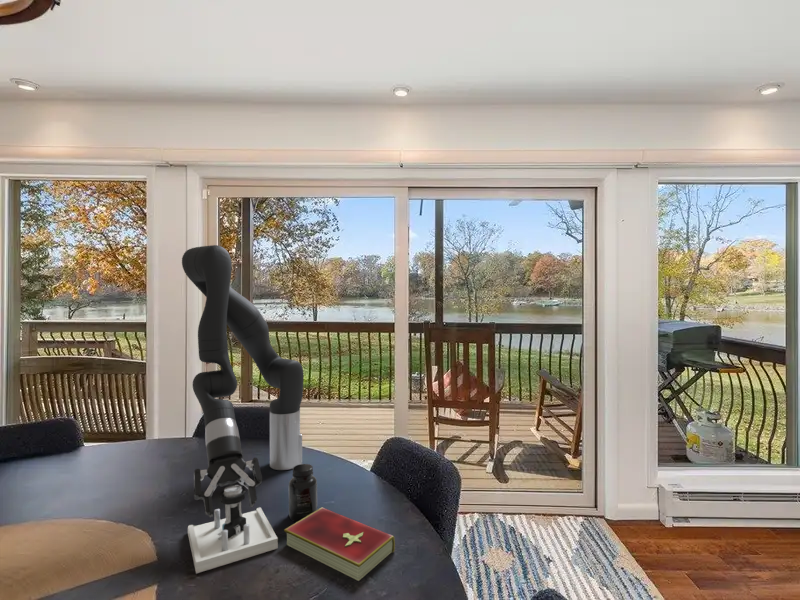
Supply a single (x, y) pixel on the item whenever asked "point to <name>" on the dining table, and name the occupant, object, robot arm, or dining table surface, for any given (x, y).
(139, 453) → the dining table surface
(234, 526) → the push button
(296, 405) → the robot arm
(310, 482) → the supplement bottle
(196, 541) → the tray
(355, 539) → the hardcover book
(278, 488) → the dining table surface
